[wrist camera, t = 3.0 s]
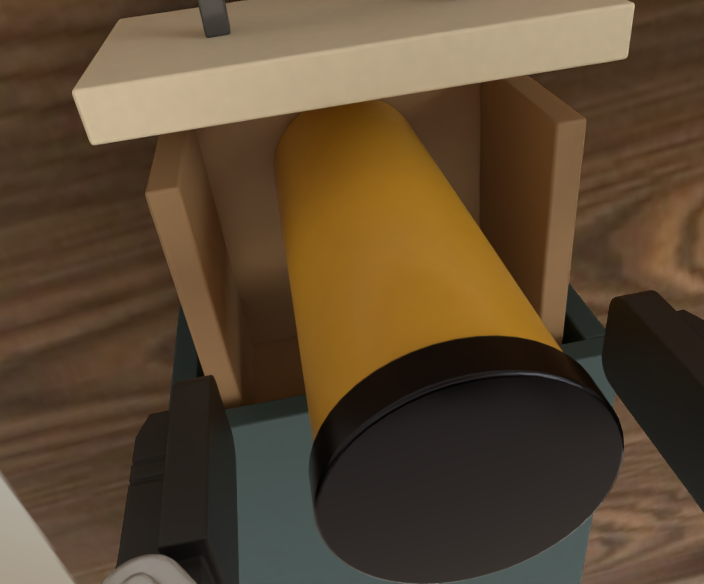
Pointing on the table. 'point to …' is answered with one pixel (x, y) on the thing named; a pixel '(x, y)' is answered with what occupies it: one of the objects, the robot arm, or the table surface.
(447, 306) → the tin
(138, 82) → the drawer
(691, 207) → the table surface
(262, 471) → the cabinet
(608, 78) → the table surface
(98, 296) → the table surface
